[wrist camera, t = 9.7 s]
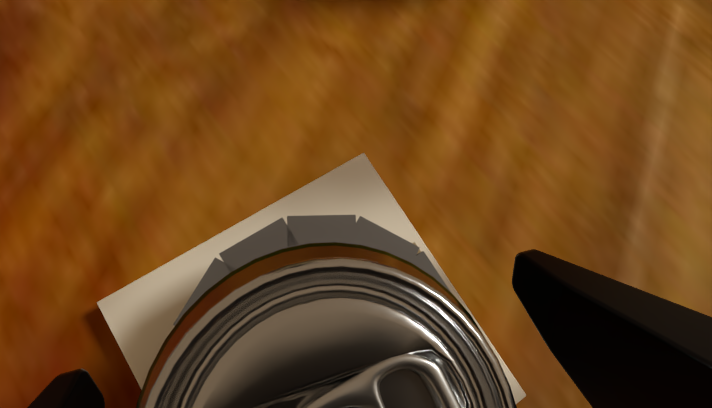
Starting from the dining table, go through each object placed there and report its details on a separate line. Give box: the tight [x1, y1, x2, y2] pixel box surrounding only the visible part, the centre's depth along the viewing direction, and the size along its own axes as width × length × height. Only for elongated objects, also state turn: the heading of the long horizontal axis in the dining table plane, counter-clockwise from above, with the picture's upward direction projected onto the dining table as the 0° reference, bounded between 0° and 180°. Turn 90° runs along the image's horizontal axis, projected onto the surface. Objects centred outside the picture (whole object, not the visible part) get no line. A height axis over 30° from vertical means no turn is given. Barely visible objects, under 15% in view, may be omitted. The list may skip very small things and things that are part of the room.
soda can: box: [136, 242, 517, 408], centre depth 10 cm, size 5×5×12 cm
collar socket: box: [97, 153, 526, 404], centre depth 15 cm, size 12×12×5 cm
